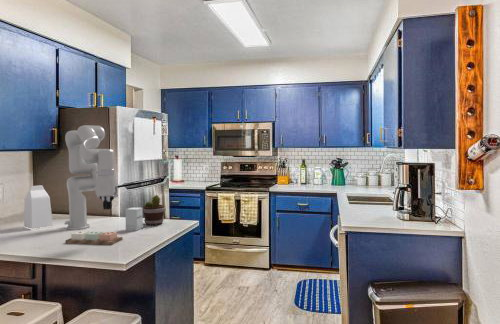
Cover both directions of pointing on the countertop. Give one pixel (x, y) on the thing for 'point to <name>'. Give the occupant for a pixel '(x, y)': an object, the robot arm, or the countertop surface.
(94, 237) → the tile two
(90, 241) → the board
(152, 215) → the flowerpot
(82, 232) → the tile one
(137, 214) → the supplement box
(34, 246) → the countertop surface
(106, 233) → the tile three
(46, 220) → the milk
